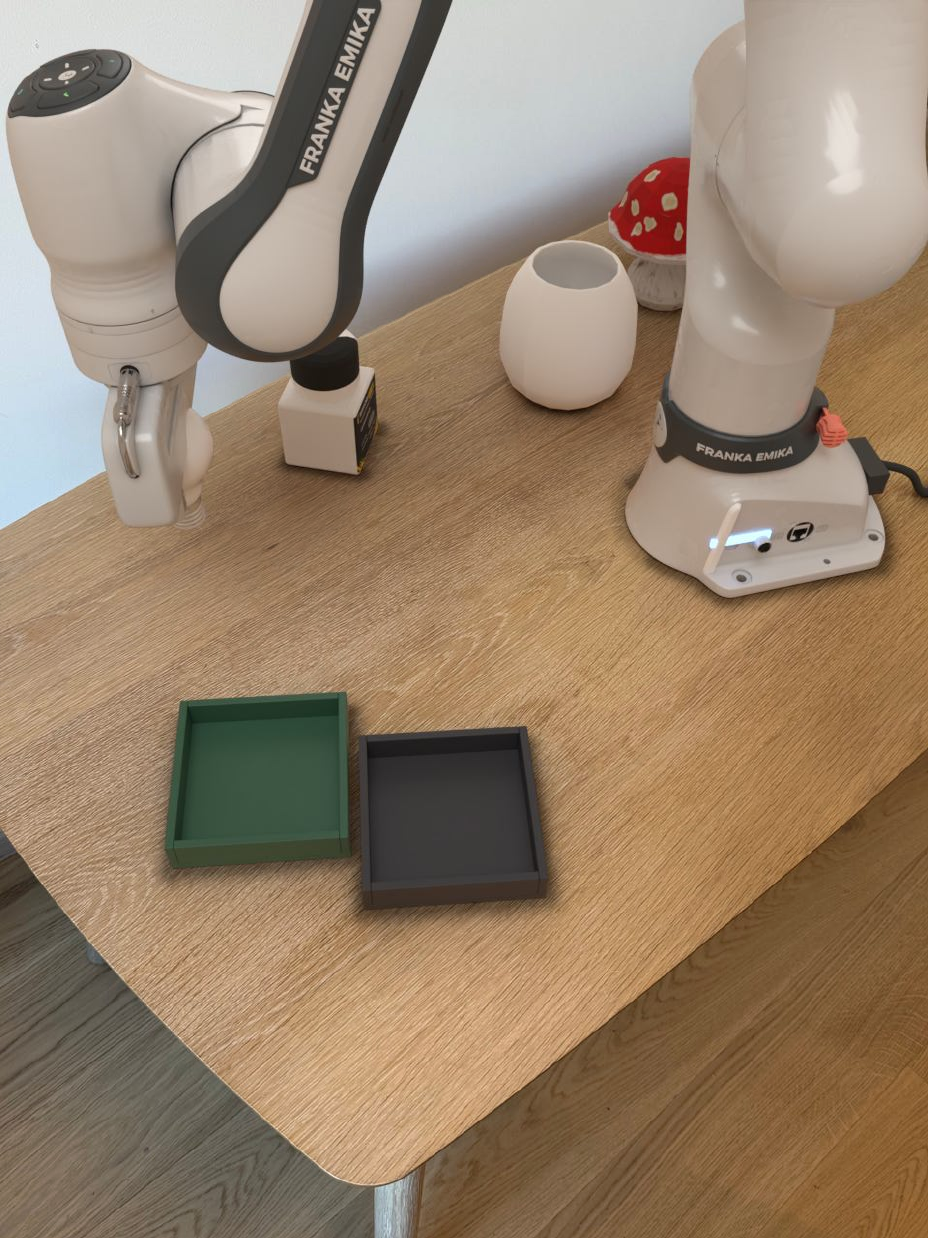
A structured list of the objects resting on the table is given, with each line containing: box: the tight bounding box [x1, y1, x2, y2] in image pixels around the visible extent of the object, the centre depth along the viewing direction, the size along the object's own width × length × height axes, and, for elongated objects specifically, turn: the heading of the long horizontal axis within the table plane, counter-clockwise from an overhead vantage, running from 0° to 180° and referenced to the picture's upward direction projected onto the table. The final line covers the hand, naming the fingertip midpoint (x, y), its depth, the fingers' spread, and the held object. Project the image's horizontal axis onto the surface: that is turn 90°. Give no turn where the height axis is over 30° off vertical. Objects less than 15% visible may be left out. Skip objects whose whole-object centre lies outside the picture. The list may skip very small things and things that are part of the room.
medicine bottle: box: [277, 328, 379, 476], centre depth 99 cm, size 7×7×12 cm
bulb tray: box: [163, 691, 352, 869], centre depth 78 cm, size 12×12×3 cm
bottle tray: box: [357, 725, 549, 911], centre depth 76 cm, size 12×12×3 cm
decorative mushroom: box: [607, 156, 690, 312], centre depth 115 cm, size 14×14×15 cm
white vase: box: [498, 239, 639, 411], centre depth 105 cm, size 13×13×14 cm
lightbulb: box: [173, 408, 215, 531], centre depth 81 cm, size 6×6×11 cm
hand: (178, 483), depth 82 cm, fingers closed on lightbulb, 5 cm apart
